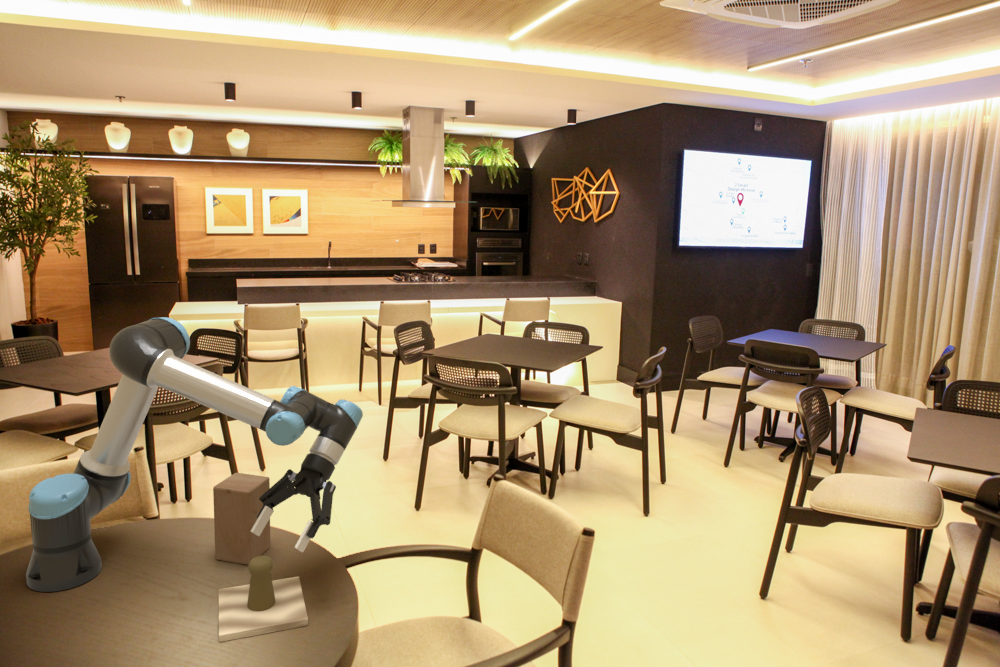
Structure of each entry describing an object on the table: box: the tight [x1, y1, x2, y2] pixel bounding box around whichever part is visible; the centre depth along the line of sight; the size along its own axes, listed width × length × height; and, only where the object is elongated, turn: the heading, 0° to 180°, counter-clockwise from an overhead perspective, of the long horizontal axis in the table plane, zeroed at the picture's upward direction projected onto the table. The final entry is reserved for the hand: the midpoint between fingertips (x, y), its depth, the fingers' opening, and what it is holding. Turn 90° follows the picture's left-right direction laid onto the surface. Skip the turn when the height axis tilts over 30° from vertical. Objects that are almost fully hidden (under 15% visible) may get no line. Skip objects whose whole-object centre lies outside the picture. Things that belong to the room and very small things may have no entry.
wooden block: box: [212, 472, 271, 566], centre depth 171 cm, size 10×10×20 cm
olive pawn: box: [247, 555, 275, 611], centre depth 149 cm, size 6×6×11 cm
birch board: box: [218, 576, 309, 643], centre depth 150 cm, size 18×18×2 cm
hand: (276, 542), depth 151 cm, fingers open, 13 cm apart
